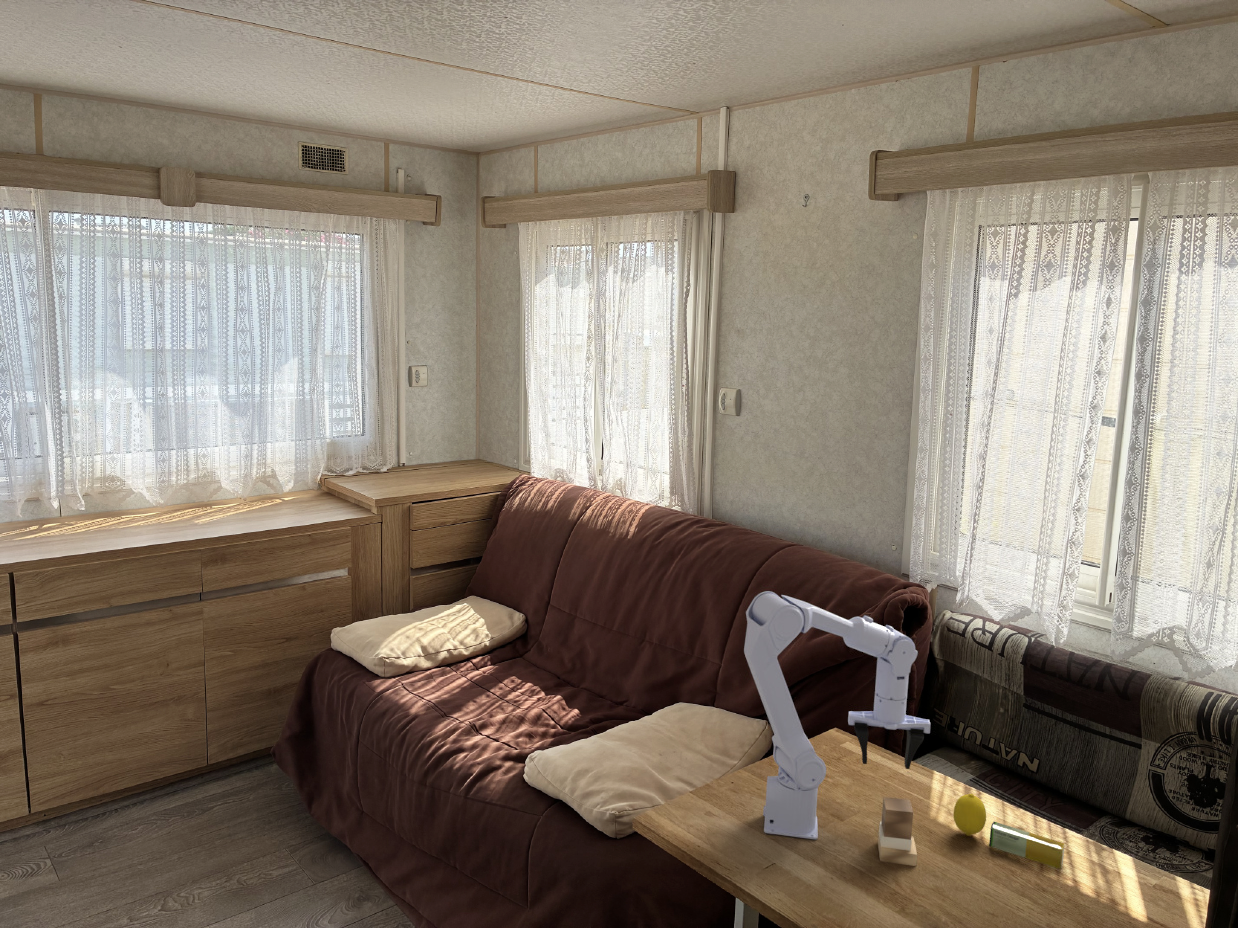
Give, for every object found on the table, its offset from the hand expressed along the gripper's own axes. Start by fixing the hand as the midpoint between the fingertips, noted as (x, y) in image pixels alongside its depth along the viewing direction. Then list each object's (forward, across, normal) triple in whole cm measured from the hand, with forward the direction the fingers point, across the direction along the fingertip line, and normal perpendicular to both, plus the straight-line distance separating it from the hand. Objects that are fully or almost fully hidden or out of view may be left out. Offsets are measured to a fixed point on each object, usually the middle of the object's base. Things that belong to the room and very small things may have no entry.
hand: (885, 764), depth 173 cm
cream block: (+8, +1, -12) cm, 15 cm away
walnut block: (+6, +1, -13) cm, 14 cm away
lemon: (+11, +15, -3) cm, 19 cm away
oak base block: (+11, +2, -13) cm, 17 cm away
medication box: (+11, +24, -7) cm, 27 cm away
